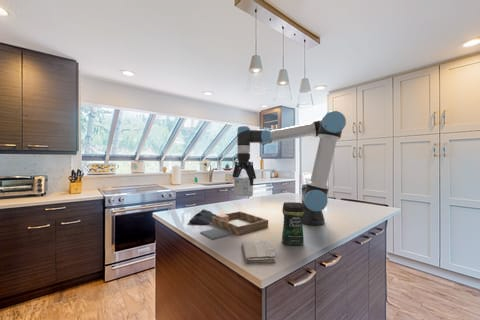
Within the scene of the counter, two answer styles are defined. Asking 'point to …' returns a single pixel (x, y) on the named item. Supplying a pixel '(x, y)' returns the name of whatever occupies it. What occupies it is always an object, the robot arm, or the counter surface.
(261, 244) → the washcloth
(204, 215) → the dark slate chunk
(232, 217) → the brown wooden tray
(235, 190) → the light bulb box
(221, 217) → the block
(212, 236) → the mat
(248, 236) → the counter surface
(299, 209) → the coffee jar
